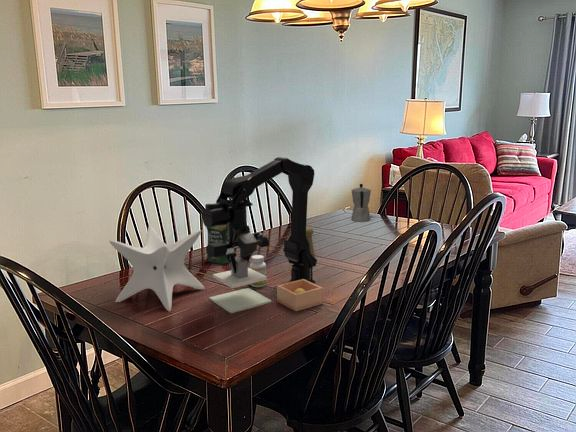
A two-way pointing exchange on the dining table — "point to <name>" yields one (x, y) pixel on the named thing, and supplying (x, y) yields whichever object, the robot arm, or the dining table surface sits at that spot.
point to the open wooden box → (300, 294)
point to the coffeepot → (361, 204)
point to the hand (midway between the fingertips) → (239, 272)
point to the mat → (240, 300)
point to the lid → (240, 275)
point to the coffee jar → (217, 236)
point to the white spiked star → (158, 266)
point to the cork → (310, 238)
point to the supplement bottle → (258, 269)
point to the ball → (299, 290)
